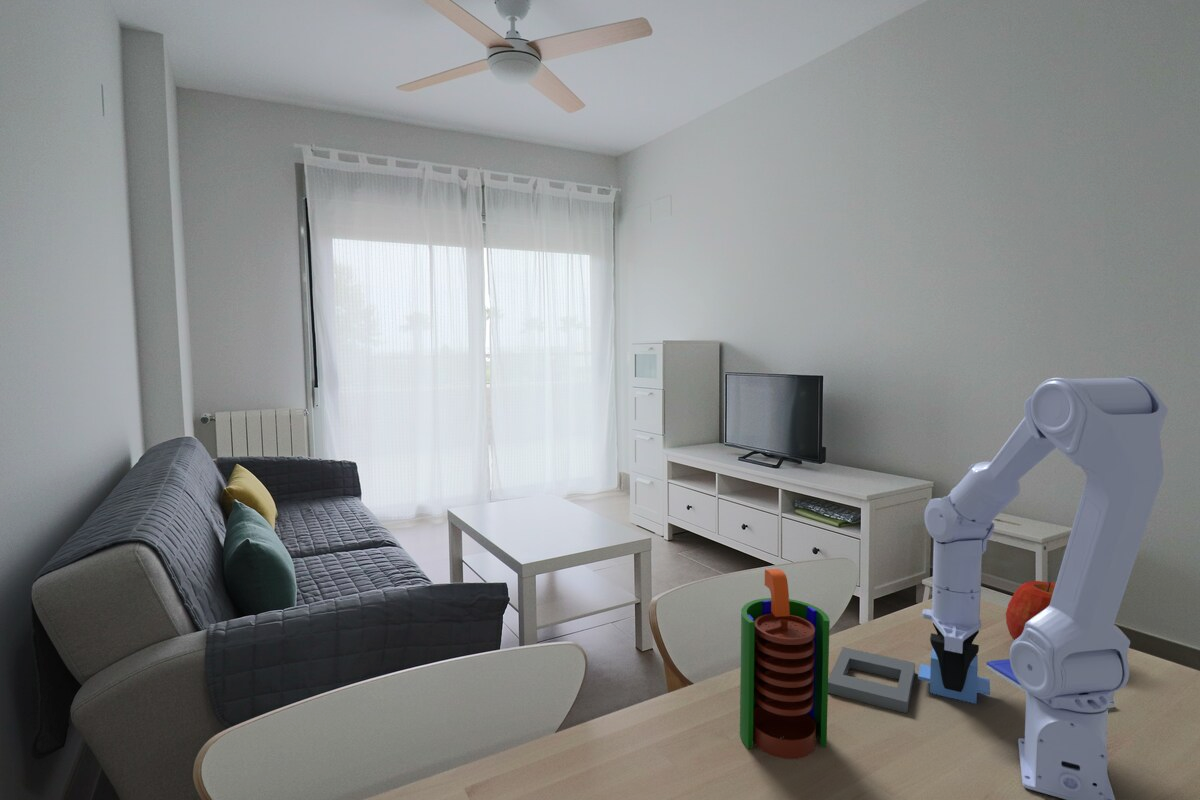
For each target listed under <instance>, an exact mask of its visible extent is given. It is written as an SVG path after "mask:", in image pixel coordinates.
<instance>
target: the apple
mask: <svg viewBox="0 0 1200 800" xmlns="http://www.w3.org/2000/svg"><path fill="white" fill-rule="evenodd" d="M1055 585H1056V582H1050V581H1048V582H1047V581H1041V580H1030V581H1027V582H1025V583H1022V584H1021V585H1019V587H1018V588H1017V589H1016V590H1015V592H1014V593H1013V594H1012V597H1011V598H1010V600H1009V602H1008V604H1007V608H1006V611H1005V620H1006V621H1005V623H1006V627H1007V630H1008V632H1009V635H1010V637H1011V638H1012V640H1013V641H1014V640H1015V639H1017V638H1018V637H1020V635H1021V634H1022V633H1023V630H1024V627H1025V624H1026V622H1027V621H1029V620H1030V619H1031V618H1033V617H1034V616H1036V615H1037V614H1038V613H1040V612H1041V611H1043V610H1044V609H1046V608H1047V607H1048V606H1049V605H1050V602H1051V598H1052V595H1053V592H1054V588H1055Z"/></svg>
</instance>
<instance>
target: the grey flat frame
mask: <svg viewBox="0 0 1200 800" xmlns="http://www.w3.org/2000/svg"><path fill="white" fill-rule="evenodd" d="M850 669H853V670H857V671H859V672H860V671H861V672H864V673H865V672H866V673H869V674H874V675H878V676H883V677H886V678H891V679H895V680H898V683H897V687H896V686H892V685H888V684H885V683H879V682H875V681H872V680H867V679H862V678H859V677H855V676H849V675H848V672H849V670H850ZM915 673H916V662H914V661H908V660H905V659H899V658H895V657H890V656H885V655H881V654H877V653H871V652H868V651H863V650H858V649H854V648H848V647H844V646H843V647H842V648H841V651H840V652H839V655H838V657H837V659H836V661H835V664H834V666H833V668H832V670H831V673H830V675H829V676H828V694H830V695H835V696H838V697H843V698H847V699H849V700H853V701H859V702H862V703H865V704H869V705H873V706H877V707H881V708H885V709H889V710H892V711H897V712H901V713H904V714H908V710H909V705H910V700H911V694H912V689H913V683H914V680H915V679H914V678H915Z"/></svg>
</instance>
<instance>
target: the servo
mask: <svg viewBox="0 0 1200 800" xmlns="http://www.w3.org/2000/svg"><path fill="white" fill-rule="evenodd" d="M931 647H932V646H931ZM978 660H979V659H978V654H977V655H976V656H975V657H974V659H973V660H972V662H971V664H970V666H969V669H968V672H967V676H966V680H965V684H964V687H963V690H962V692H958V691H953V690H949V689H945V688H944V685H943V681H942V676H941V670H940V665H939V661H938V658H937V655H936V653H935V651H934V649H933V647H932V648H931V655H930V665H927V664H922V663H920V665H919V668H918V675H917V679H918V680H922V681H925V682H929V694H932V693H933V695H936V694H937V696H942V697H946V698H950V699H953V698H954V699H953V700H957V699H958V701H962V700H963V701H962V702H966V701H967V702H966V703H970V702H971V704H974V703H975V705H977V702H978V700H977V698H978V697H977V695H978V694H981V695H986V696H991V679H990V678H987V677H983V676H978V668H979V667H978V663H979V662H978Z"/></svg>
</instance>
